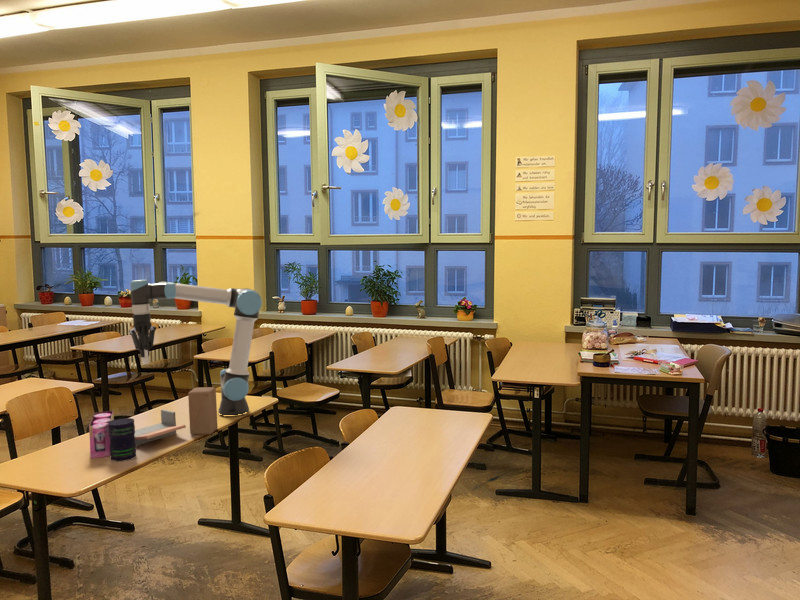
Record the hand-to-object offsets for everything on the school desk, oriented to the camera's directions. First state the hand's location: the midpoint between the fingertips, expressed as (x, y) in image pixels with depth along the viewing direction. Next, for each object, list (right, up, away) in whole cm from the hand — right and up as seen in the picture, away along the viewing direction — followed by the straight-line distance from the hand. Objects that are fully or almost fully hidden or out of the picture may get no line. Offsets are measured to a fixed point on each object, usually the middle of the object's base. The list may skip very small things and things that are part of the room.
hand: (145, 363), depth 287 cm
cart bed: (+6, -32, -11) cm, 34 cm away
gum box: (-8, -34, -24) cm, 43 cm away
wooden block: (+28, -31, -2) cm, 42 cm away
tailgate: (+10, -29, -14) cm, 33 cm away
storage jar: (+5, -35, -35) cm, 50 cm away
